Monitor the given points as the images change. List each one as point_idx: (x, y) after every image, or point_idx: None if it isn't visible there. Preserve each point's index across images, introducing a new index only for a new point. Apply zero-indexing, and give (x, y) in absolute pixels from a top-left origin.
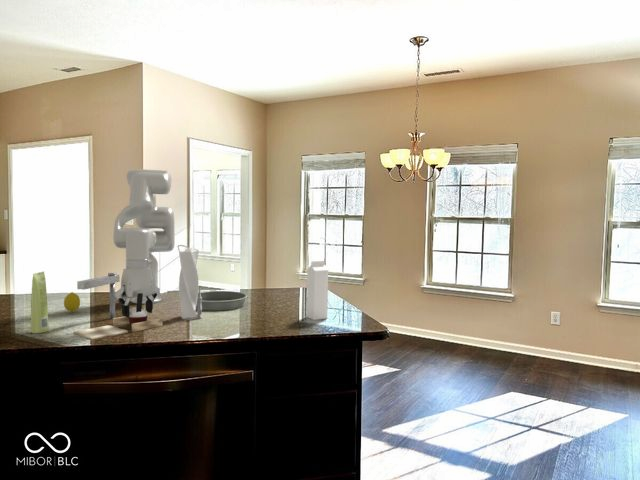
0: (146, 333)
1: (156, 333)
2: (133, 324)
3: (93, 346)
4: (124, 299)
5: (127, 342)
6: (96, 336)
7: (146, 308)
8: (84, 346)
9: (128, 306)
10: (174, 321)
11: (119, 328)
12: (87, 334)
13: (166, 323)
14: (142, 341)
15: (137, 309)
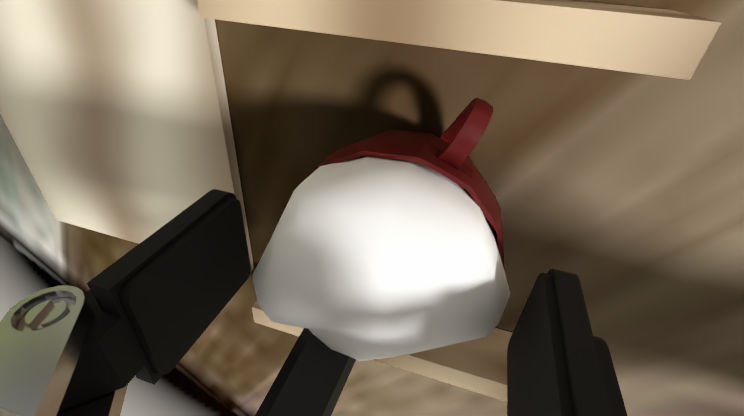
0: None
1: (349, 388)
2: (256, 322)
3: None
4: (19, 395)
5: (190, 357)
6: (77, 216)
7: (538, 325)
8: (42, 264)
9: (159, 368)
10: (728, 358)
11: (228, 184)
12: (28, 135)
13: (608, 337)
14: (239, 391)
15: (292, 372)
